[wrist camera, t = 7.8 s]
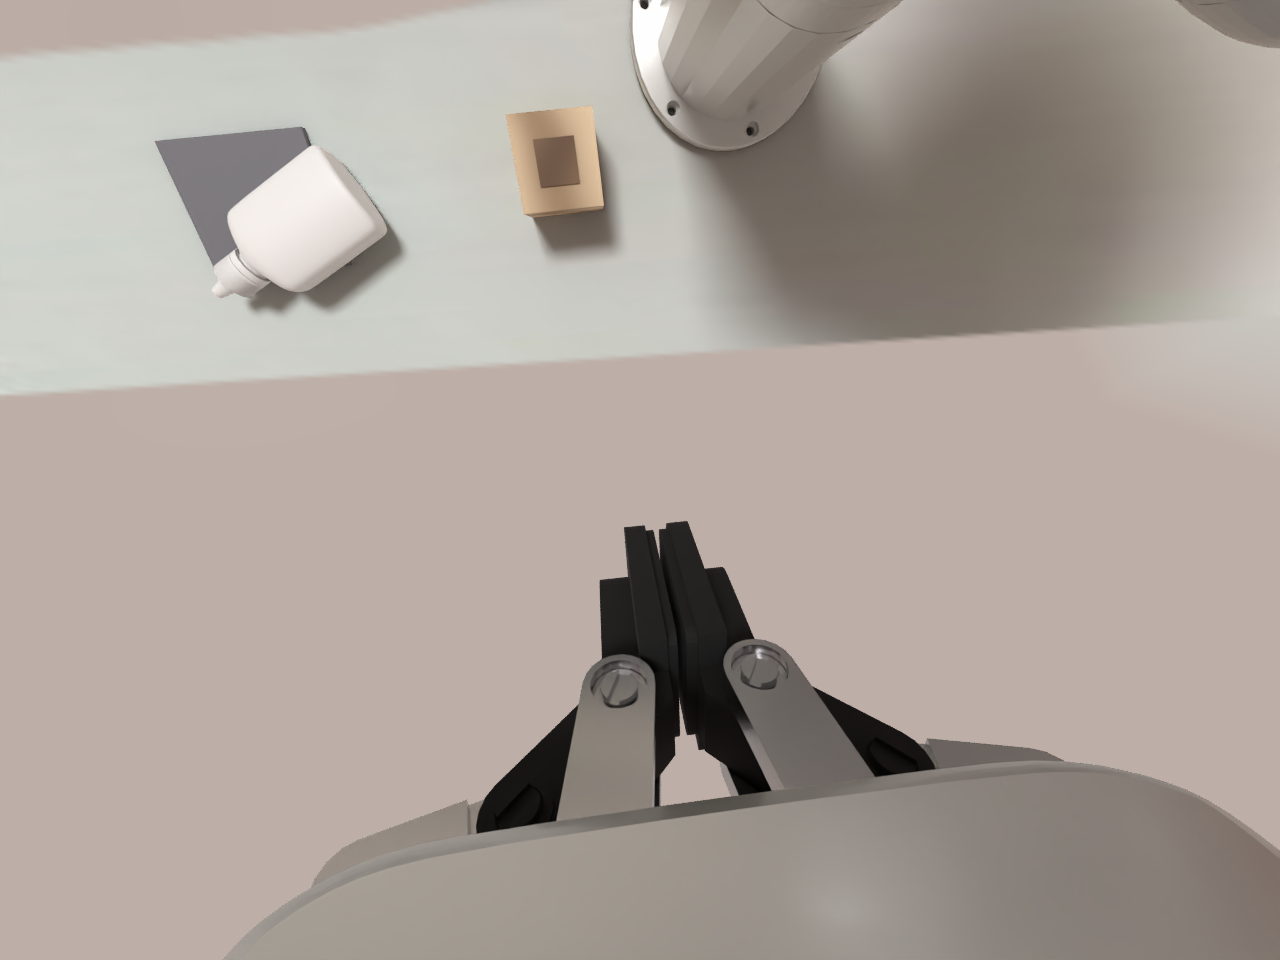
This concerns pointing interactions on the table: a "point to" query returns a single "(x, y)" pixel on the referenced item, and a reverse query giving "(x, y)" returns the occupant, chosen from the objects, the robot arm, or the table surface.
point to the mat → (226, 176)
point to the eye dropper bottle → (298, 227)
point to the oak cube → (556, 161)
